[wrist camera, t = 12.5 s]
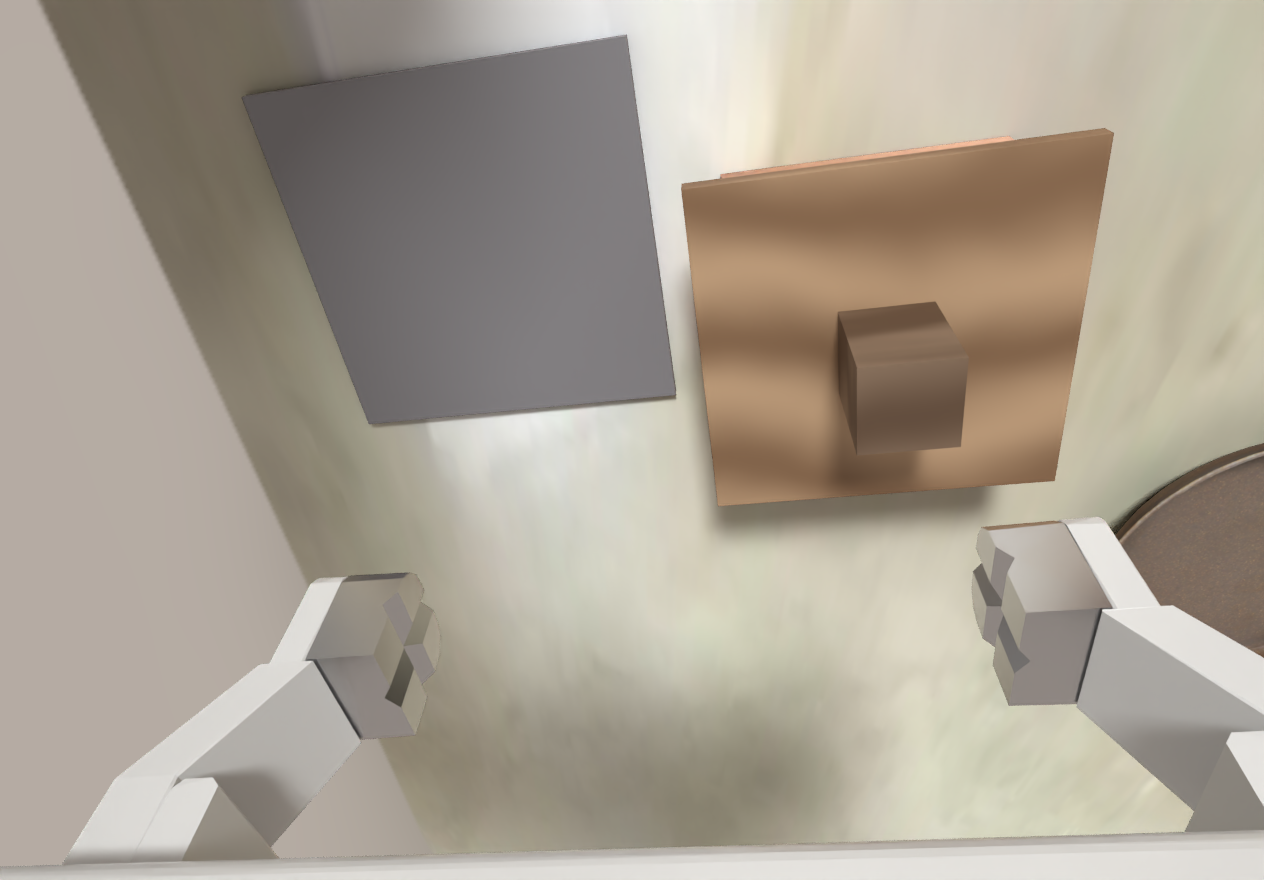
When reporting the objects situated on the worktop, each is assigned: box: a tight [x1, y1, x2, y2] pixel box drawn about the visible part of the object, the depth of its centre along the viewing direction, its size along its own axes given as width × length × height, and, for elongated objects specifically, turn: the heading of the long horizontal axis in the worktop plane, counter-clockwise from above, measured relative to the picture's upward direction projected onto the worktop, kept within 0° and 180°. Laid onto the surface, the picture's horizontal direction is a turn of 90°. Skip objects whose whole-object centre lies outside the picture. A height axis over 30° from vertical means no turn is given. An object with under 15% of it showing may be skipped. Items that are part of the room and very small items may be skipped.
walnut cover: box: [681, 128, 1114, 506], centre depth 33 cm, size 16×16×6 cm
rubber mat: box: [242, 35, 676, 424], centre depth 41 cm, size 18×18×1 cm
